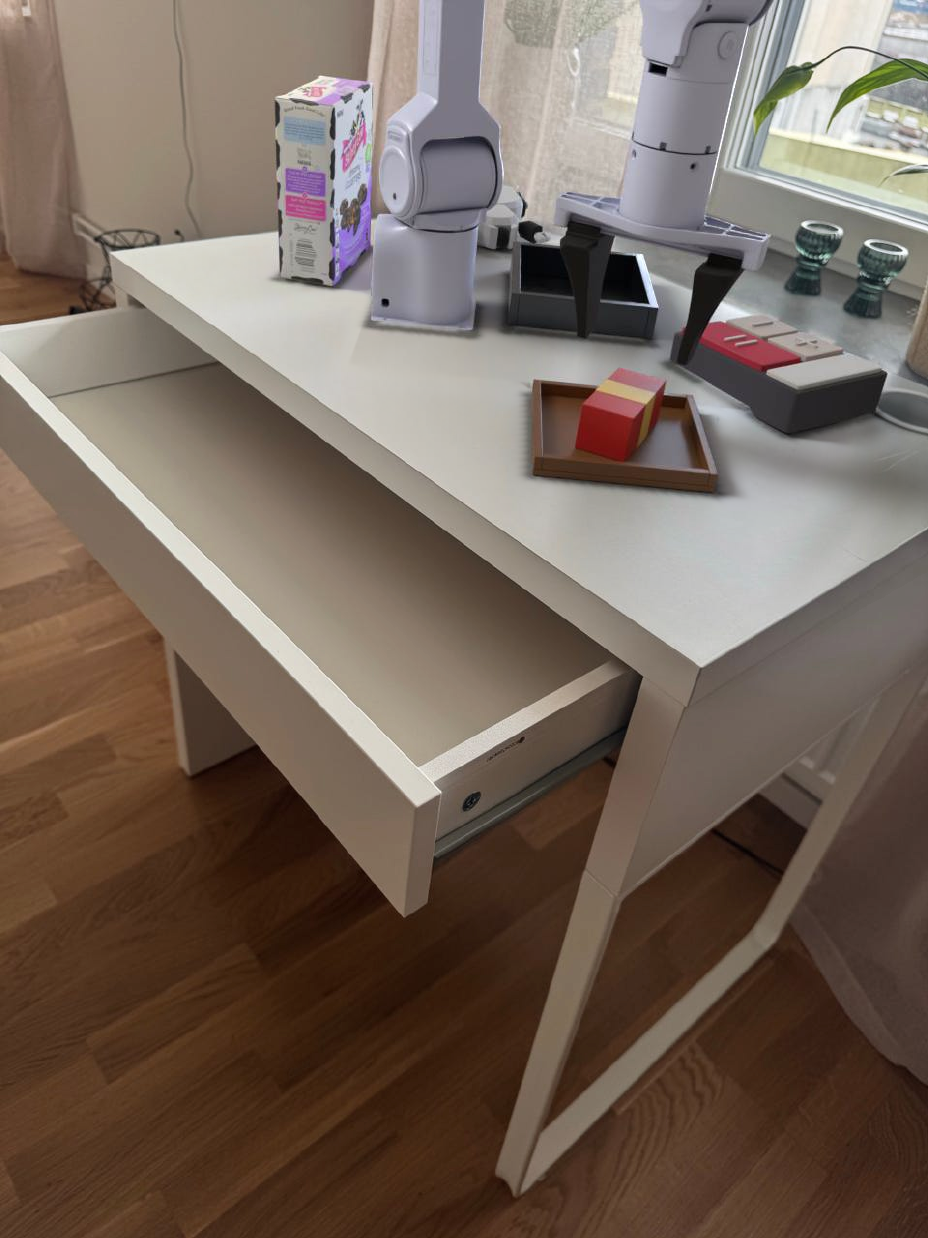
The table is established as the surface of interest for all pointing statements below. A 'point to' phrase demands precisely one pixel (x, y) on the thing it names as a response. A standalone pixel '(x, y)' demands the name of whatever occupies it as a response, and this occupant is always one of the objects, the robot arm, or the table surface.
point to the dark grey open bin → (550, 301)
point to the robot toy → (509, 222)
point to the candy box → (324, 178)
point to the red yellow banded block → (620, 414)
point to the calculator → (784, 373)
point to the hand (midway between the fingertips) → (634, 346)
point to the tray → (659, 461)
